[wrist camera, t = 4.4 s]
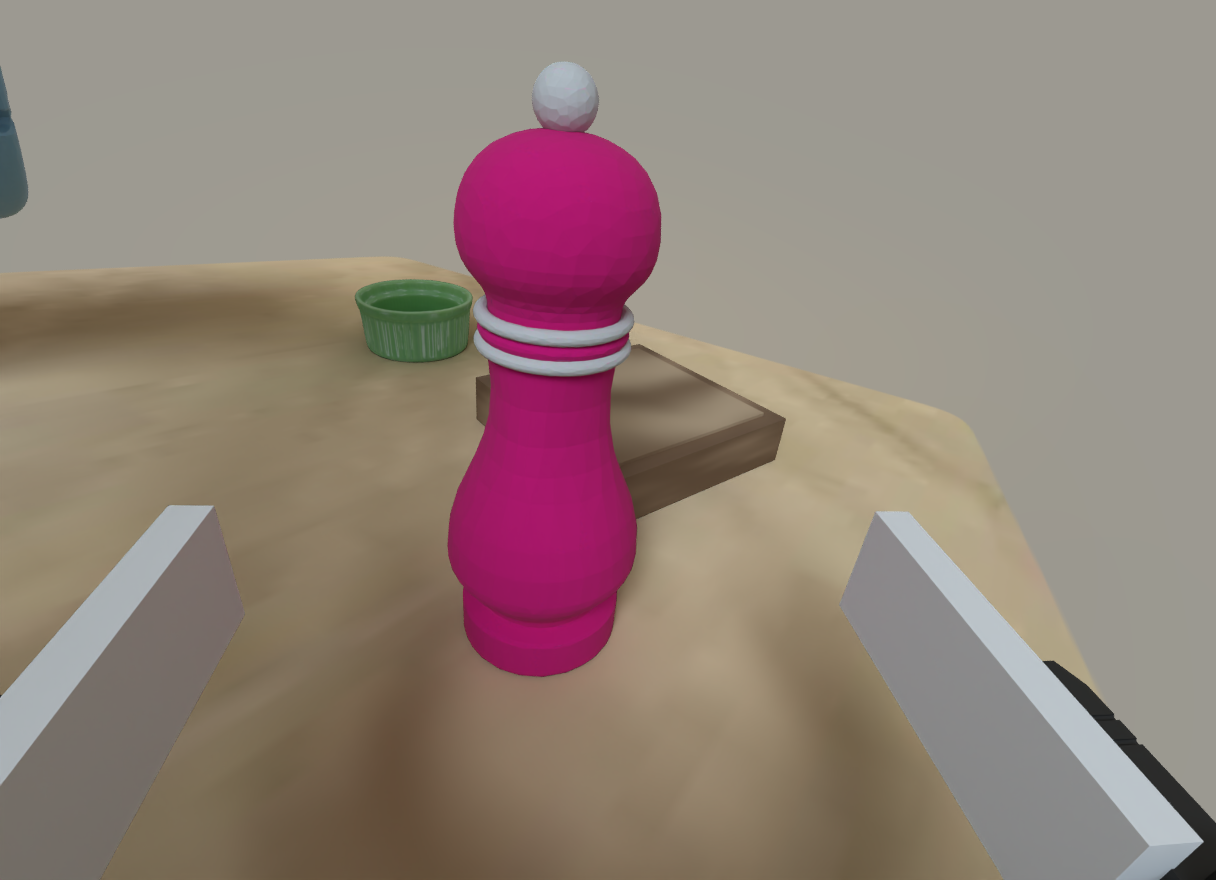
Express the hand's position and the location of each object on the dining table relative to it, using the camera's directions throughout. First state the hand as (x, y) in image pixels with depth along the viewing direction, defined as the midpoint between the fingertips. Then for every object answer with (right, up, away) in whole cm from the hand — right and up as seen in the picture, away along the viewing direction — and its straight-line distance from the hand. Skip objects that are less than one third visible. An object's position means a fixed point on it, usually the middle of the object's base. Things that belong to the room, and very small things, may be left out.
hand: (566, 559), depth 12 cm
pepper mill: (-2, -5, +13) cm, 14 cm away
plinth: (+2, +3, +27) cm, 27 cm away
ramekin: (-15, +10, +38) cm, 42 cm away
